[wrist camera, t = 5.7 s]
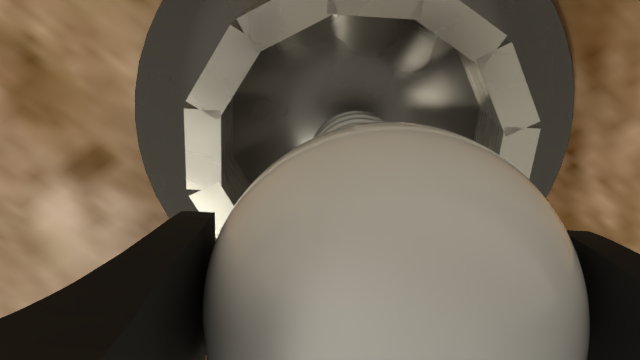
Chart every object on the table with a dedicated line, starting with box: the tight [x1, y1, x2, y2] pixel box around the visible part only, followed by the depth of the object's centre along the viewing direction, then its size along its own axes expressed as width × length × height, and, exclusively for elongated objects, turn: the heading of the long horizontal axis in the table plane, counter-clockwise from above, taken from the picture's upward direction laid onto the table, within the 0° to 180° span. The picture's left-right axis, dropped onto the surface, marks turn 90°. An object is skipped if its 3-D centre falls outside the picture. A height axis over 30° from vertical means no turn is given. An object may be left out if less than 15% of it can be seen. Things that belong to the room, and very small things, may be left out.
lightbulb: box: [202, 111, 590, 360], centre depth 12 cm, size 6×6×11 cm
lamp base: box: [135, 0, 574, 242], centre depth 17 cm, size 14×14×3 cm
